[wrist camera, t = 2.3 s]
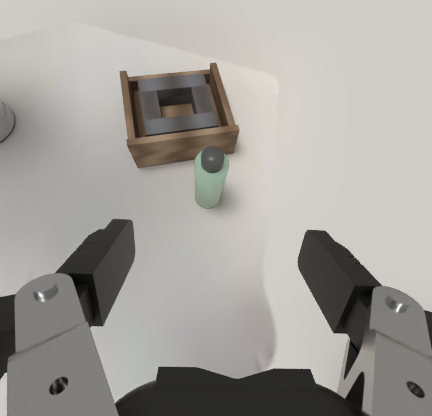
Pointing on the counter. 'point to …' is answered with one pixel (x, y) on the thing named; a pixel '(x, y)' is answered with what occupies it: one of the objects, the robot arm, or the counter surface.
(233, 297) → the counter surface
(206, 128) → the box
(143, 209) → the counter surface
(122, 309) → the counter surface
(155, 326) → the counter surface
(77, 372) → the robot arm
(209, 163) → the mint green cylinder
